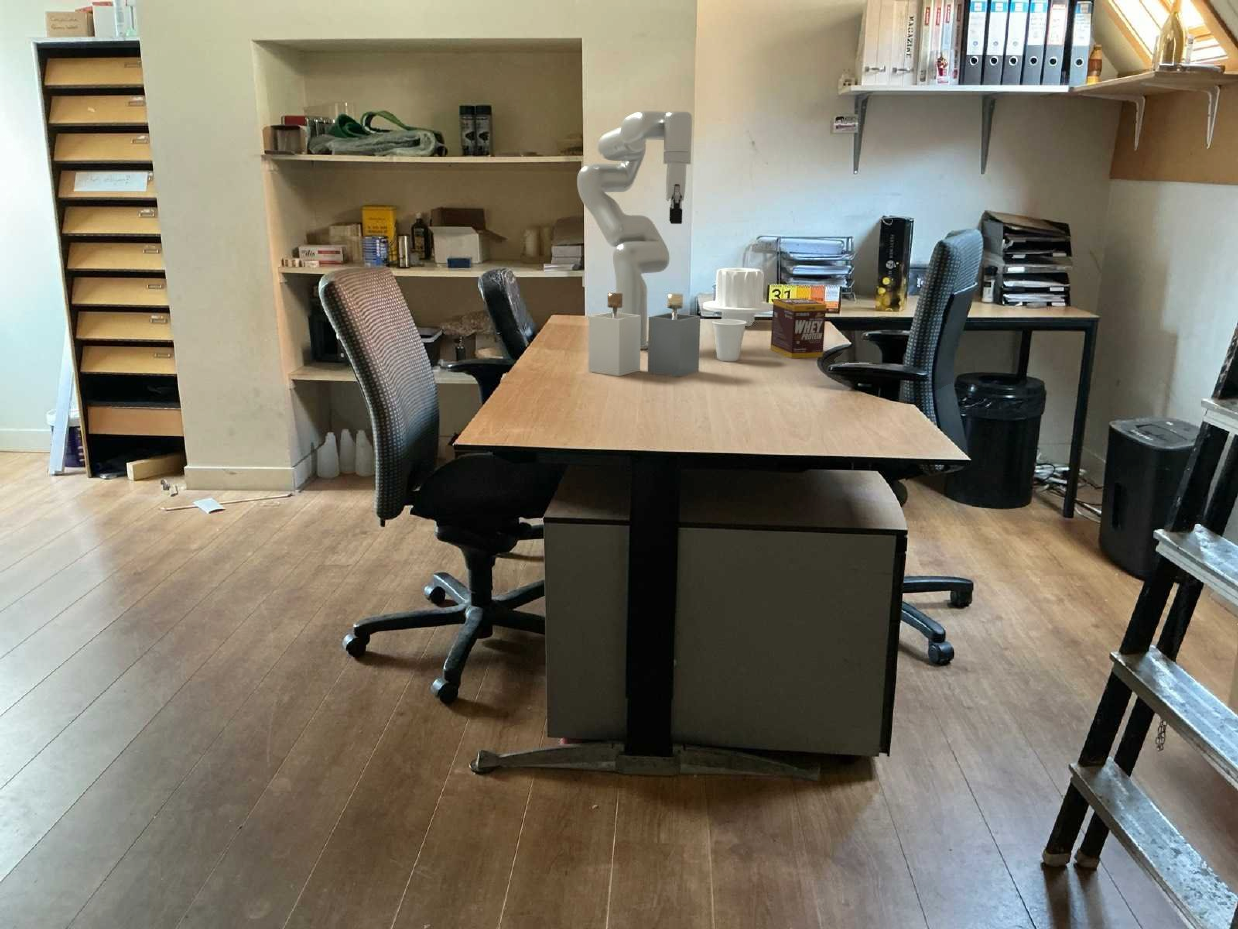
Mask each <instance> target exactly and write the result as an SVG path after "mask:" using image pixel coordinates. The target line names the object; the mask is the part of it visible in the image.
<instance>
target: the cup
mask: <svg viewBox="0 0 1238 929" xmlns="http://www.w3.org/2000/svg"><path fill="white" fill-rule="evenodd" d="M711 323H712V327H713V335H714V341H715V342H714V344H715V350H716V357H717V359H718V361H721V362H737V361H738V360H739V358H740V355H741V354H740V353H741V349H742V344H743V339H744V335H745V334H744V333H745V330H746V327H745V326H746V324H747V322H746V321H742V320H734V319H722V318H721V319H714V320H712V321H711Z"/></svg>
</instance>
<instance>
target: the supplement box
mask: <svg viewBox="0 0 1238 929" xmlns="http://www.w3.org/2000/svg"><path fill="white" fill-rule="evenodd" d="M772 304H773V311H772V318H771V336H770V338H771V339H770V350H771V351H774V352H776V353H777V354H780V355H783V357H784V356H785V357H787V358H789V359H800V358H801V359H809V358H821V357H820V356H823V354H824V346H825V345H824V344H825V343H824V340H825V330H826V329H825V328H826V311H827V304H826V303H822V302H819V301H815V300H812V299H808V298H804V297H803V298H800V297H799V298H795V297H794V298H792V297H791V298H774V299H773V300H772ZM823 357H824V356H823Z"/></svg>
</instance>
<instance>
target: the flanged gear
mask: <svg viewBox="0 0 1238 929" xmlns="http://www.w3.org/2000/svg"><path fill="white" fill-rule="evenodd" d="M715 277H716V278H715V300H709V301H705V302H703V303H702V308H703V309H704V310H706V311H710V312H717V313H721V319H734V320H742V321H746V322H747V324H746V326H750V327H752V325H753V324H754V323H755V314H762V313H770V312H773V303H771V302H764V301H763V300H764V285H765V284H764V283H765V282H764V281H765V273H764V271H763V270H762V269H758V268H753V267H752V268H749V267H723V268H718V269H717V270H716V274H715ZM753 322H754V323H753ZM752 323H753V324H752Z"/></svg>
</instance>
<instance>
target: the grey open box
mask: <svg viewBox="0 0 1238 929" xmlns="http://www.w3.org/2000/svg"><path fill="white" fill-rule="evenodd" d="M672 315H673V312H666V313H662V314H656V315H652V316H648V330H647V331H648V335H647V337H648V338H647V340H648V348H647V373H648V374H649V373H650V374H656V375H663V376H668V377H669V376H670V377H675V378H676V377H677V378H680V377H684V376H687V375H691V374H694V373H697V372H699V370H700V364H699V363H700V342H701V341H700V340H701V339H700V338H701V334H700V333H701V315H693V314H691V315H690V314H683V313H677V320H675V319H672Z"/></svg>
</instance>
